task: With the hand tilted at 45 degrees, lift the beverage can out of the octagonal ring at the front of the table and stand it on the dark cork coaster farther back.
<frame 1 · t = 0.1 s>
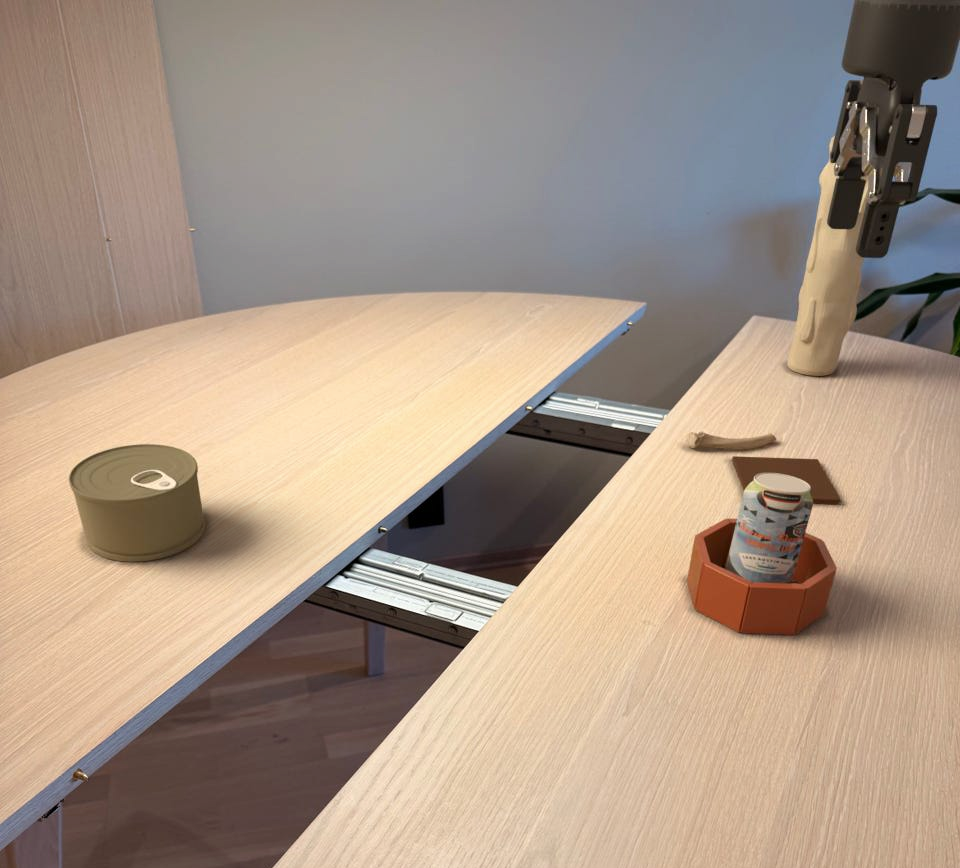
hand: (854, 241, 77), 31 cm above the table, tool pointing down, fingers open, 8 cm apart
pillar candle: (812, 369, 141), on the table
coaster: (783, 481, 112), on the table
octagonal ring: (754, 596, 92), on the table
beverage can: (753, 598, 93), resting in octagonal ring
bone: (730, 447, 119), on the table
can: (146, 533, 100), on the table
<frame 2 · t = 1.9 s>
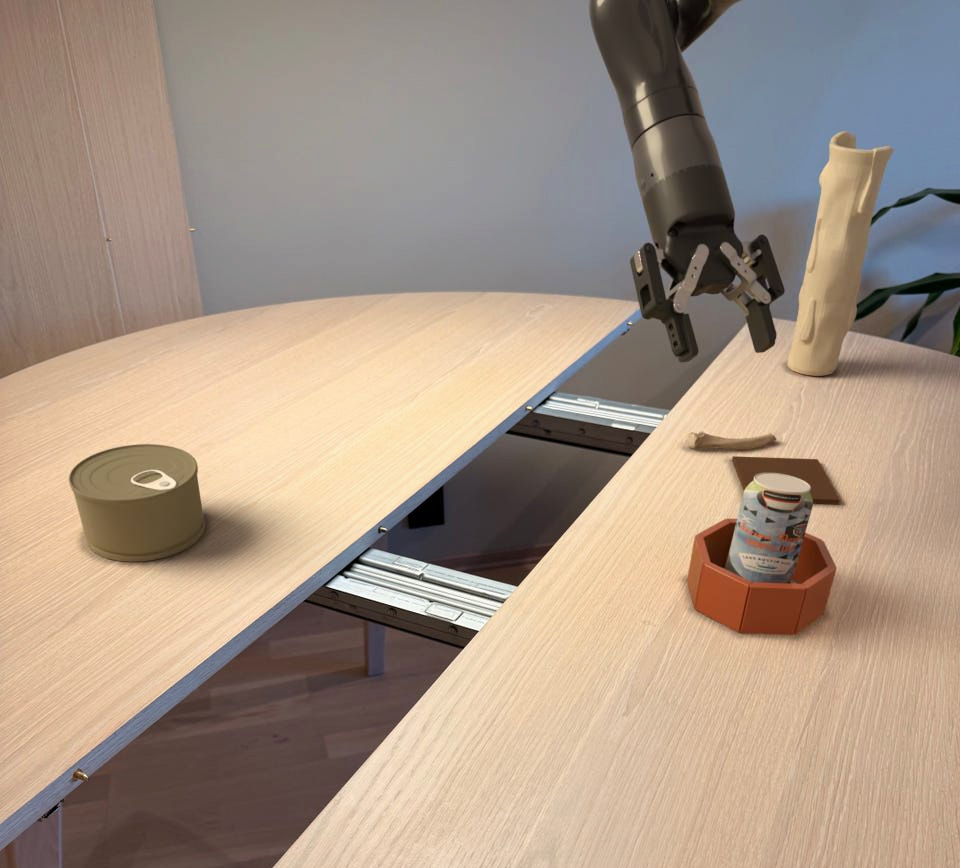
hand: (728, 354, 89), 20 cm above the table, tool tilted 40°, fingers open, 8 cm apart
nothing on the table moved.
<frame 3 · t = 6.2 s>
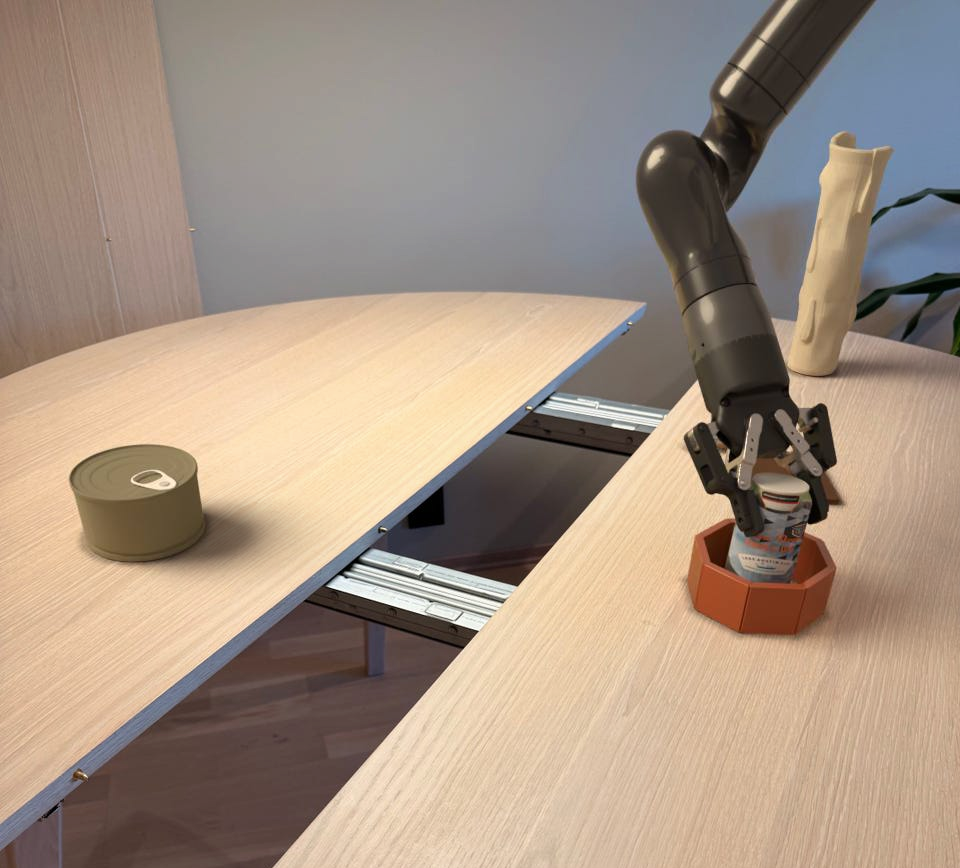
hand: (787, 527, 86), 8 cm above the table, tool tilted 45°, fingers closed on beverage can, 6 cm apart
beverage can: (753, 598, 93), resting in octagonal ring, touching gripper
everything else where it was.
when the fingers open (9 cm above the table, at t = 16.4 s): beverage can stays where it is, resting on coaster.
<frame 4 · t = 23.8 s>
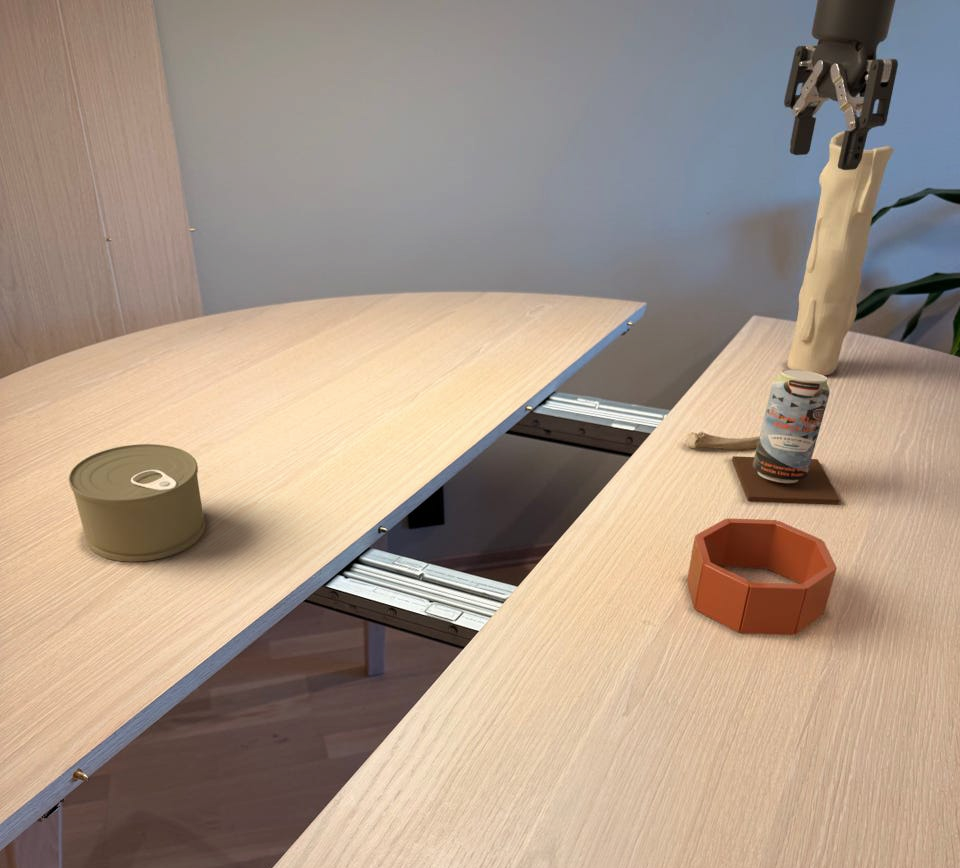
hand: (822, 161, 108), 30 cm above the table, tool pointing down, fingers open, 8 cm apart
beverage can: (779, 477, 112), resting on coaster
everything else where it was.
at the end: beverage can inside the target area on the coaster (0.5 cm from its centre), point 0.4 cm above the coaster's base; beverage can tilted 0°; the gripper is holding nothing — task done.
